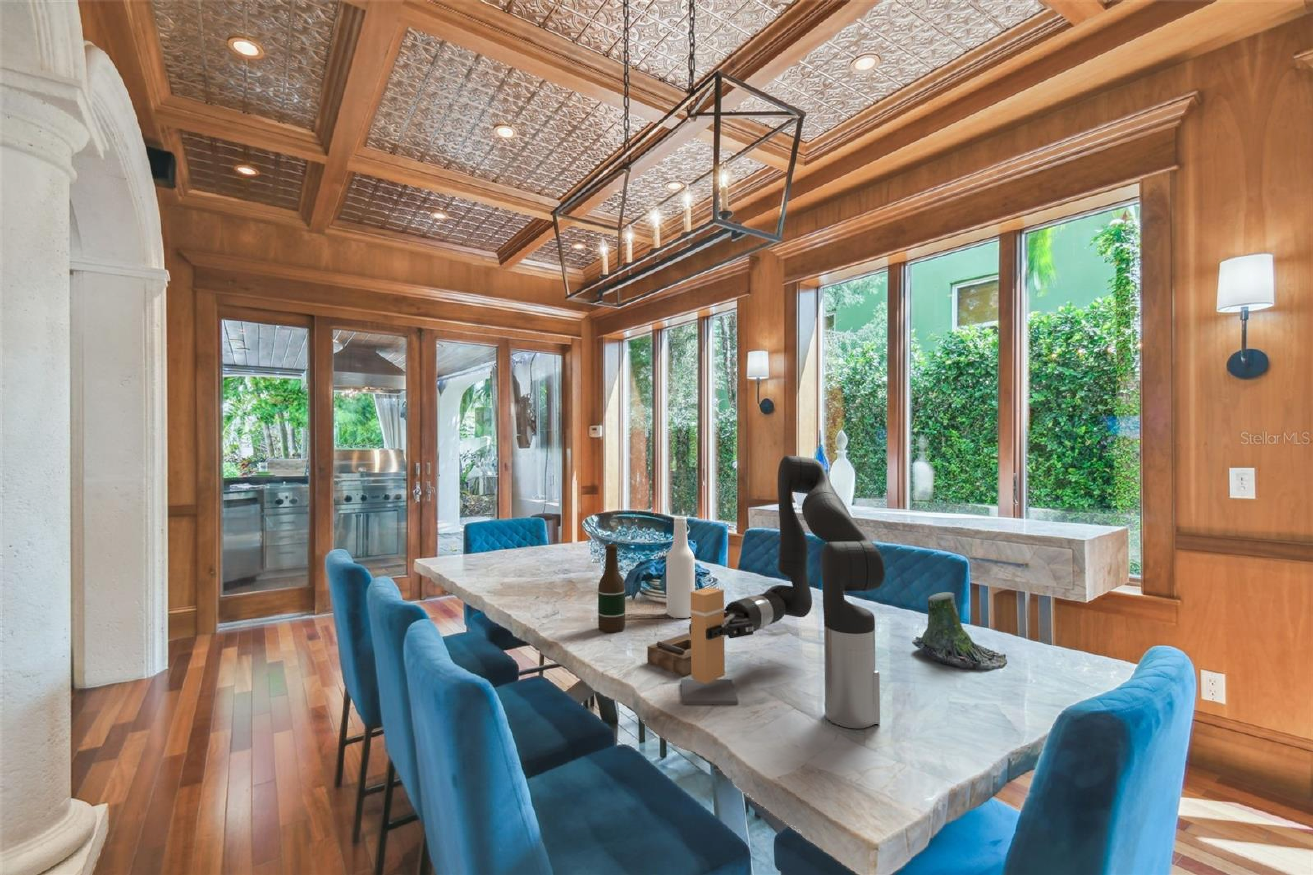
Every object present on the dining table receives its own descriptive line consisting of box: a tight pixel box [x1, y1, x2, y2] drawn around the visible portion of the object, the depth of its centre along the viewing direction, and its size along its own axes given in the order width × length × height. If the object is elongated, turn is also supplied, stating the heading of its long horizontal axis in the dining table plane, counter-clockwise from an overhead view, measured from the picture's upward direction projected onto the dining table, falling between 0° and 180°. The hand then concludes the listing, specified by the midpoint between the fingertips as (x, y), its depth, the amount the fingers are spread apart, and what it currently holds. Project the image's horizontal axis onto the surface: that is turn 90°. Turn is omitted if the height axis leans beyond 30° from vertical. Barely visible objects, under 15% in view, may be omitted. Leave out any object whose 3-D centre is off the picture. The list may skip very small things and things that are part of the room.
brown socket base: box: [646, 633, 691, 677], centre depth 143 cm, size 12×14×5 cm
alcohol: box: [665, 516, 696, 619], centre depth 184 cm, size 9×9×30 cm
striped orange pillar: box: [690, 586, 726, 684], centre depth 125 cm, size 4×6×18 cm
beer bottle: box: [597, 543, 626, 634], centre depth 170 cm, size 8×8×24 cm
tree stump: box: [911, 591, 1008, 671], centre depth 145 cm, size 18×20×18 cm
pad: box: [680, 678, 739, 706], centre depth 125 cm, size 11×11×1 cm
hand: (699, 632), depth 123 cm, fingers closed on striped orange pillar, 4 cm apart
